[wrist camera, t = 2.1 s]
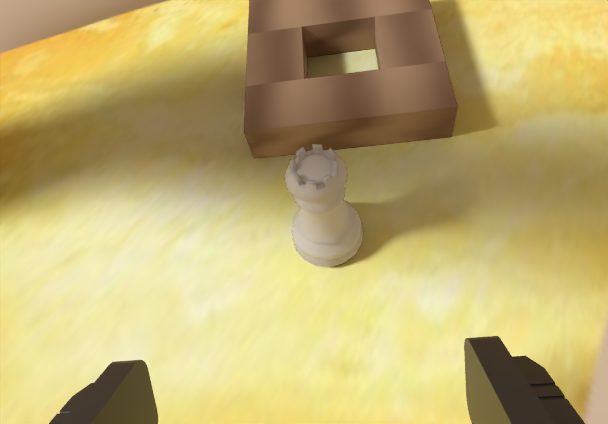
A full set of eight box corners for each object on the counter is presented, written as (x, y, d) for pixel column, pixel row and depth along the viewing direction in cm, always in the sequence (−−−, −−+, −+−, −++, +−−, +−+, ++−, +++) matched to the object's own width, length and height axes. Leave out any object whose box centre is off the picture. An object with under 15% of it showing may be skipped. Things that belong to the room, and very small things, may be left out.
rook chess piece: (312, 282, 29) (291, 217, 22) (282, 226, 31) (256, 152, 25) (376, 250, 30) (376, 177, 23) (343, 197, 32) (333, 116, 25)
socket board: (253, 158, 35) (243, 131, 32) (257, 30, 42) (249, -1, 39) (451, 136, 33) (457, 106, 31) (419, 7, 40) (422, -25, 38)
